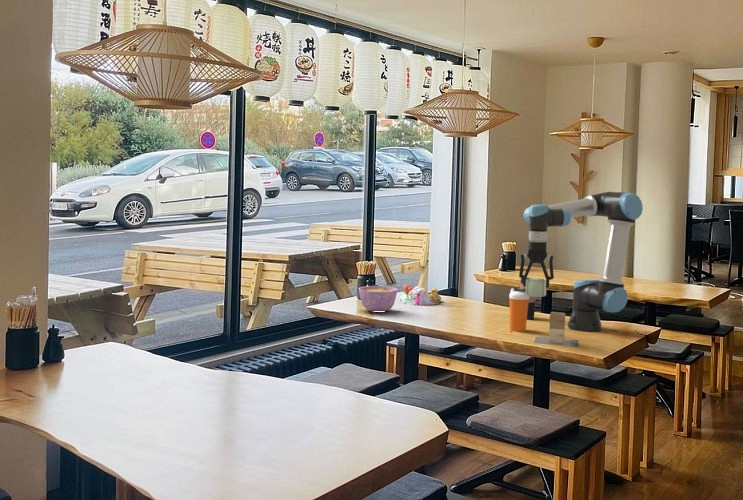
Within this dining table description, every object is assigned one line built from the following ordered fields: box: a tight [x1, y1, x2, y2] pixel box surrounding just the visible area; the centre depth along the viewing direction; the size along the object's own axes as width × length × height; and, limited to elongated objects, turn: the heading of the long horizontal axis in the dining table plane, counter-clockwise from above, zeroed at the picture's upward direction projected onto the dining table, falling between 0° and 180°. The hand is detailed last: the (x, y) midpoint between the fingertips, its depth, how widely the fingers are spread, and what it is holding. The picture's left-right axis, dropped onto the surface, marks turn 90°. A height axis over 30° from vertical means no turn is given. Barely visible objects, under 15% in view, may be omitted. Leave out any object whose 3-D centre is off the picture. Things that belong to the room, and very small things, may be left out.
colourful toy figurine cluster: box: [398, 284, 443, 306], centre depth 422 cm, size 25×24×9 cm
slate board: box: [533, 336, 579, 348], centre depth 326 cm, size 13×18×1 cm
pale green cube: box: [527, 277, 545, 298], centre depth 326 cm, size 7×7×7 cm
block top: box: [549, 311, 566, 330], centre depth 325 cm, size 6×6×6 cm
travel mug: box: [519, 277, 536, 321], centre depth 380 cm, size 8×8×20 cm
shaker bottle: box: [508, 287, 529, 334], centre depth 347 cm, size 9×9×20 cm
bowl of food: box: [358, 285, 398, 311], centre depth 391 cm, size 20×20×12 cm
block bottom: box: [548, 327, 566, 344], centre depth 325 cm, size 6×6×6 cm
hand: (535, 294), depth 326 cm, fingers closed on pale green cube, 7 cm apart
